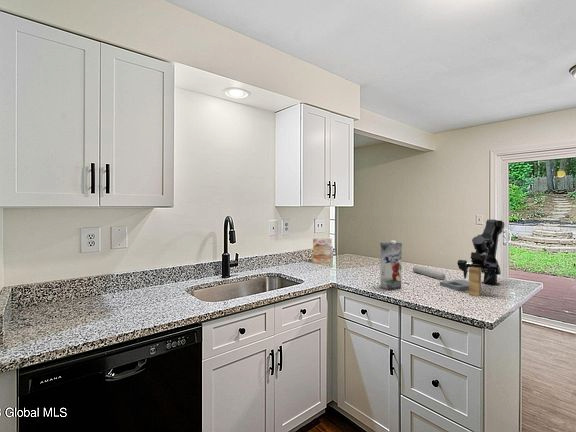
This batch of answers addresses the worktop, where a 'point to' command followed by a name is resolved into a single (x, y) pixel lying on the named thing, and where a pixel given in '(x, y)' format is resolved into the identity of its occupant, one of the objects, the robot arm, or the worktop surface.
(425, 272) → the tube
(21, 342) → the worktop surface
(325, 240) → the coffeecake box
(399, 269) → the juice carton
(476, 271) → the pin
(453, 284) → the socket board
